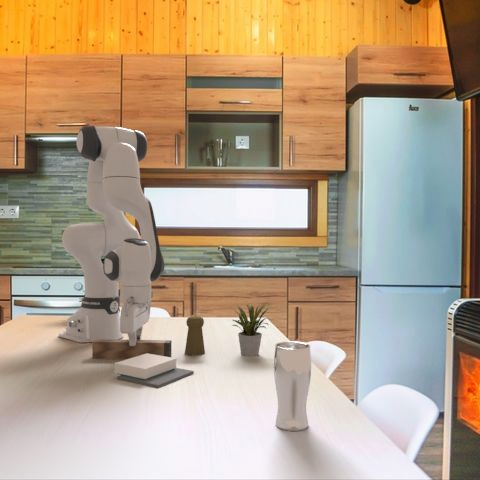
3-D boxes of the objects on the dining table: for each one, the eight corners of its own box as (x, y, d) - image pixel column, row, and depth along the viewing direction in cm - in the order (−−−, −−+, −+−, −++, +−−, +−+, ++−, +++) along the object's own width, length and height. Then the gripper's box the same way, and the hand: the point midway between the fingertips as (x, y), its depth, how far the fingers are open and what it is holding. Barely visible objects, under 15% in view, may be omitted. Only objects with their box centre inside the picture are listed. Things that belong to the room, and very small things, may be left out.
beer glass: (270, 418, 95) (271, 341, 95) (306, 417, 95) (307, 341, 95) (276, 432, 88) (277, 349, 88) (314, 432, 88) (315, 349, 88)
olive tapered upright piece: (201, 355, 143) (202, 318, 143) (182, 354, 145) (182, 317, 144) (207, 351, 149) (207, 315, 149) (188, 350, 150) (188, 314, 150)
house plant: (283, 351, 150) (283, 298, 150) (271, 362, 137) (271, 304, 137) (239, 347, 155) (239, 295, 154) (223, 357, 142) (224, 301, 141)
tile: (114, 363, 121) (145, 369, 116) (146, 353, 132) (176, 358, 127) (114, 374, 121) (145, 380, 116) (146, 363, 132) (176, 369, 127)
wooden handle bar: (92, 359, 139) (92, 341, 139) (96, 356, 143) (96, 339, 143) (169, 360, 138) (169, 342, 138) (171, 357, 142) (171, 340, 142)
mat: (116, 378, 120) (116, 376, 120) (154, 366, 132) (154, 363, 132) (158, 387, 113) (158, 385, 113) (193, 373, 125) (193, 370, 125)
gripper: (137, 300, 130) (137, 352, 130) (154, 291, 150) (153, 336, 150) (114, 299, 130) (113, 351, 130) (133, 291, 150) (133, 335, 150)
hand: (135, 343), depth 140 cm, fingers open, 4 cm apart
